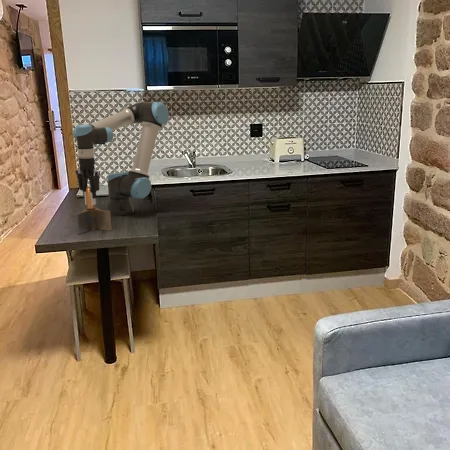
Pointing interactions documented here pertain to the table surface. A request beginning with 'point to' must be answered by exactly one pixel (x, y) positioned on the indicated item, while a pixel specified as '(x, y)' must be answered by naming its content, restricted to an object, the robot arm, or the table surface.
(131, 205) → the robot arm
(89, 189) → the hinge pin
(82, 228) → the hinge
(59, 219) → the table surface
